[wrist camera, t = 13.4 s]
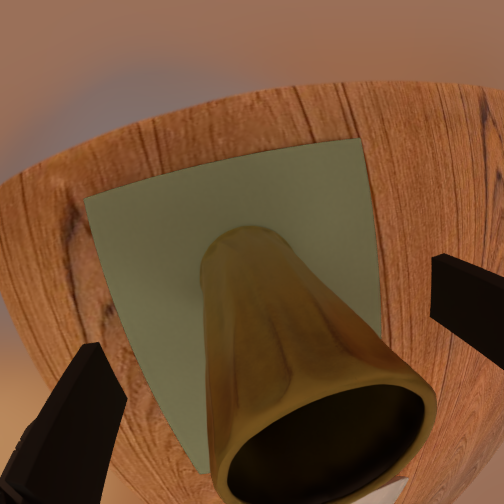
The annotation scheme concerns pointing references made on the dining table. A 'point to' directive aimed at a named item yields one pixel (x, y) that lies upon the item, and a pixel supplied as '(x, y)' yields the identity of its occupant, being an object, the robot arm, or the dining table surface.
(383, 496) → the plate
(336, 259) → the mat
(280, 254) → the fluted gold cylinder
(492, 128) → the dining table surface
